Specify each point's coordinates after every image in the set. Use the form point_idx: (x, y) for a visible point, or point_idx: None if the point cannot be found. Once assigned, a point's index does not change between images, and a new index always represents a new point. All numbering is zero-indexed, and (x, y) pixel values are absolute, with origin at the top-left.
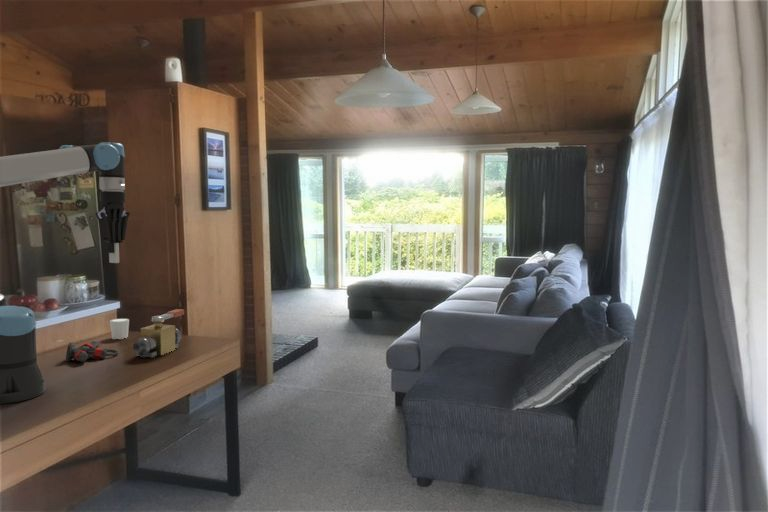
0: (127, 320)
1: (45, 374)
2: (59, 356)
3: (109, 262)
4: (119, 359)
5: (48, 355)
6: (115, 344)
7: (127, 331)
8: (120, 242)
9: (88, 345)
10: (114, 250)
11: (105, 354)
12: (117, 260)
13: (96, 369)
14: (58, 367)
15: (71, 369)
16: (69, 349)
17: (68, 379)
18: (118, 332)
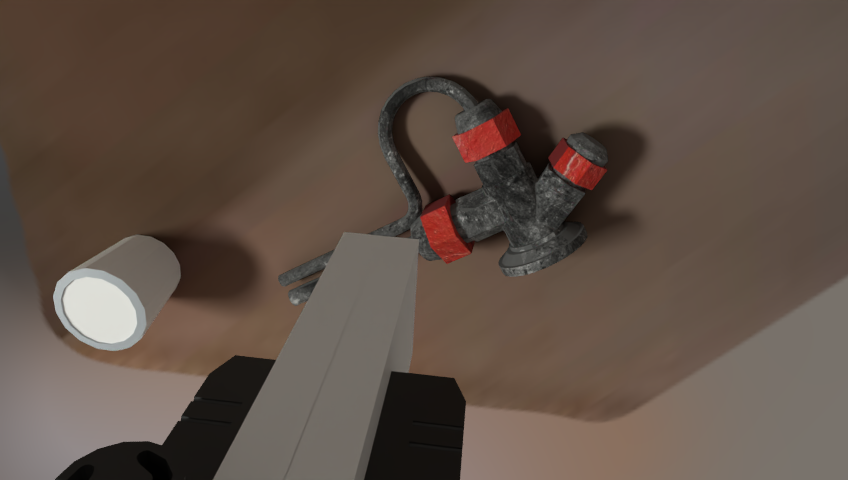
0: (84, 270)
1: (763, 185)
2: (494, 307)
3: (410, 353)
4: (477, 20)
5: (491, 354)
6: (250, 213)
7: (116, 247)
8: (178, 466)
9: (451, 223)
10: (381, 399)
11: (477, 104)
12: (381, 253)
13: (663, 14)
14: (653, 204)
15: (676, 130)
16: (576, 236)
17: (839, 32)
18: (159, 268)
